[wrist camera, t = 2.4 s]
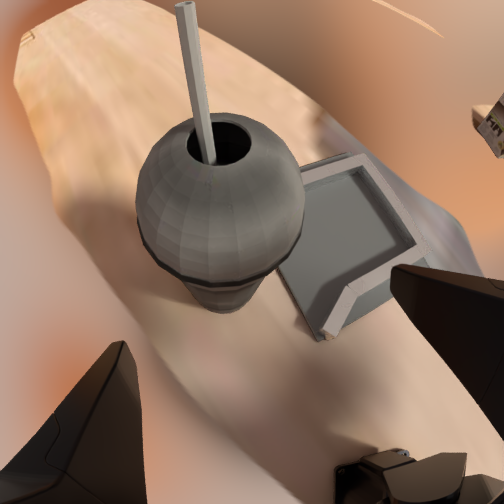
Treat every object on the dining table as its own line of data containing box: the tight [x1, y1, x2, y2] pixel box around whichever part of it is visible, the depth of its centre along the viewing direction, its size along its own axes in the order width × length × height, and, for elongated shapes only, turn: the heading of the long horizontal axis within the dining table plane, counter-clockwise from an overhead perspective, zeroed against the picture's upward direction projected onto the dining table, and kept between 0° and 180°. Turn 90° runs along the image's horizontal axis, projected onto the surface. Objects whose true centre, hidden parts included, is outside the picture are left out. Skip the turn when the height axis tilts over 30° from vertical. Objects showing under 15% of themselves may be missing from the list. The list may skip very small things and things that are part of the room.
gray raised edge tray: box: [278, 152, 430, 342], centre depth 26 cm, size 13×14×1 cm
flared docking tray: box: [301, 153, 432, 340], centre depth 25 cm, size 13×15×2 cm
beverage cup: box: [135, 1, 305, 314], centre depth 14 cm, size 7×7×20 cm
